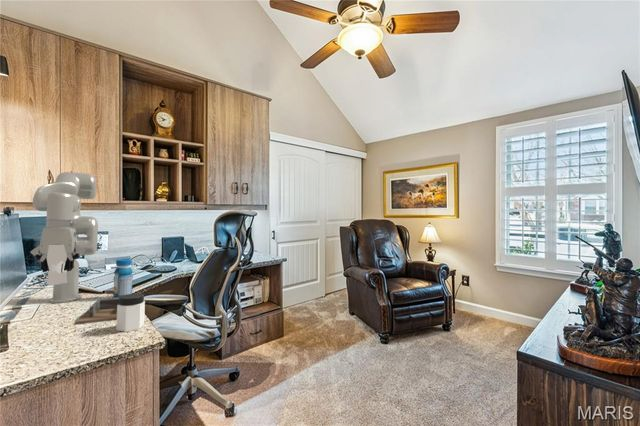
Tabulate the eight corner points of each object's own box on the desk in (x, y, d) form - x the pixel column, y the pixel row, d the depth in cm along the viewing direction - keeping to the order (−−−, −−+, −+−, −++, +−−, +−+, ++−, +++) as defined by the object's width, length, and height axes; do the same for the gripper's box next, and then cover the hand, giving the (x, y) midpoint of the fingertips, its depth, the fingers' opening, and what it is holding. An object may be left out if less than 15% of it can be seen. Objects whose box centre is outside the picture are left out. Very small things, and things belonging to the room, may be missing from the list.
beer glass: (73, 282, 111) (75, 243, 111) (51, 285, 105) (53, 245, 105) (62, 280, 113) (63, 242, 114) (40, 284, 107) (42, 244, 107)
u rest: (90, 309, 129) (91, 298, 129) (137, 305, 137) (137, 294, 137) (75, 324, 111) (75, 311, 111) (129, 318, 119) (130, 306, 119)
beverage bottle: (125, 299, 146) (126, 260, 146) (108, 299, 146) (110, 260, 146) (135, 295, 154) (137, 258, 155) (120, 295, 154) (121, 258, 155)
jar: (111, 329, 106) (112, 297, 106) (131, 322, 114) (132, 292, 114) (129, 333, 103) (130, 299, 104) (148, 325, 111) (149, 294, 111)
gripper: (90, 224, 117) (88, 268, 116) (34, 224, 109) (32, 270, 109) (84, 225, 110) (82, 271, 109) (24, 224, 102) (22, 274, 102)
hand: (57, 270), depth 109 cm, fingers closed on beer glass, 6 cm apart
